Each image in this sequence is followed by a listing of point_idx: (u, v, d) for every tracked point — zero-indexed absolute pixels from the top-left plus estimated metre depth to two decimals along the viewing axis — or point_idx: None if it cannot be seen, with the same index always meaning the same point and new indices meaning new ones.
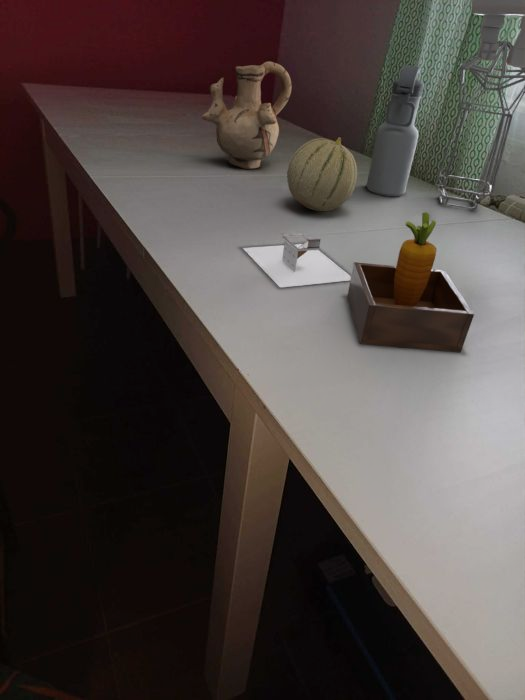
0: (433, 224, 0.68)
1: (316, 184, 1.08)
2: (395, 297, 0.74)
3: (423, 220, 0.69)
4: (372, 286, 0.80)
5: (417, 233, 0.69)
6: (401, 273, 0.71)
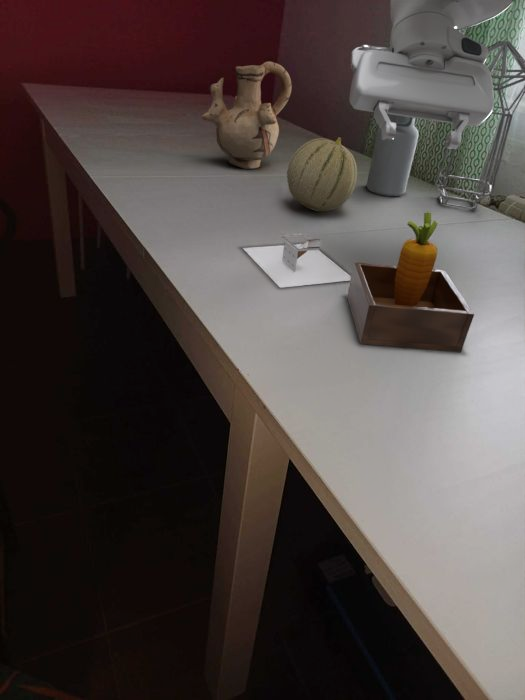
0: (435, 224, 0.69)
1: (316, 184, 1.08)
2: (395, 297, 0.74)
3: (425, 220, 0.70)
4: (372, 286, 0.80)
5: (419, 233, 0.69)
6: (402, 273, 0.71)
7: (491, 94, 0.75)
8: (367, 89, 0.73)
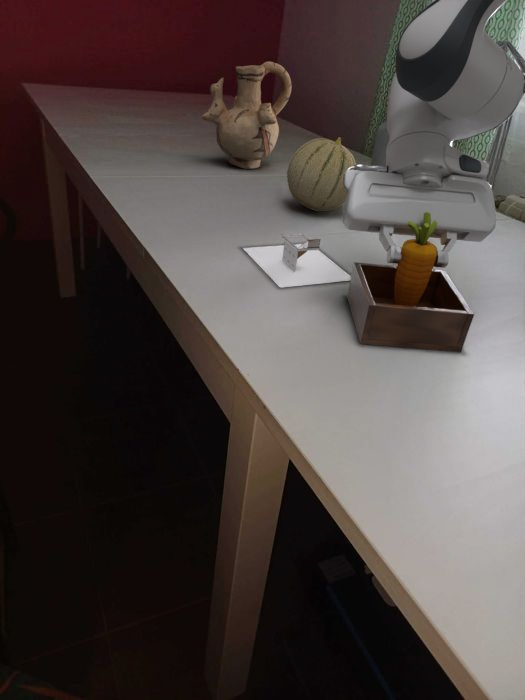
0: (434, 224, 0.69)
1: (316, 184, 1.08)
2: (395, 297, 0.74)
3: (424, 220, 0.70)
4: (372, 286, 0.80)
5: (419, 233, 0.69)
6: (401, 273, 0.71)
7: (492, 212, 0.71)
8: (358, 213, 0.70)
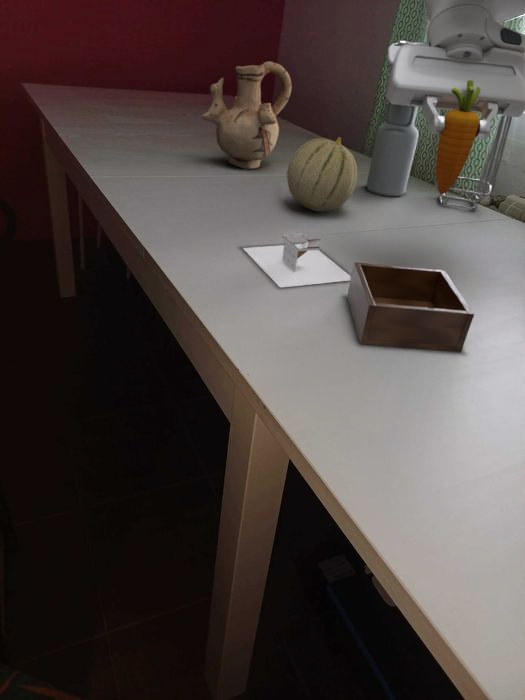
0: (478, 90, 0.71)
1: (316, 184, 1.08)
2: (437, 170, 0.77)
3: (468, 88, 0.72)
4: (372, 286, 0.80)
5: (462, 100, 0.72)
6: (444, 142, 0.74)
7: None
8: (403, 82, 0.73)
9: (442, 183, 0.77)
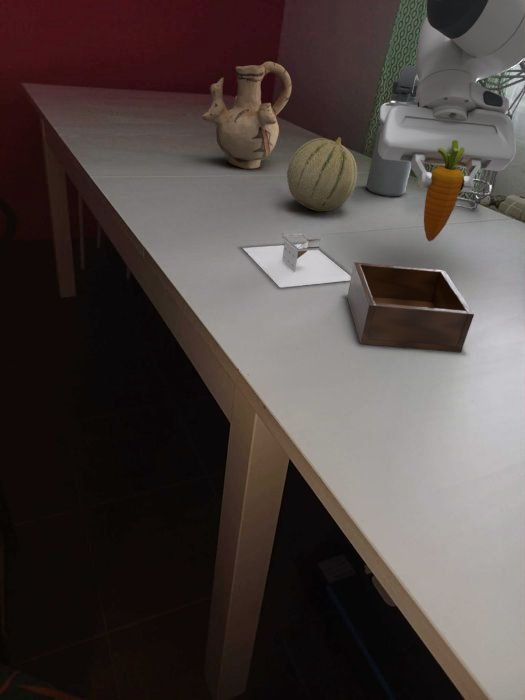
0: (462, 150, 0.77)
1: (316, 184, 1.08)
2: (425, 220, 0.83)
3: (453, 147, 0.78)
4: (372, 286, 0.80)
5: (447, 158, 0.78)
6: (431, 196, 0.80)
7: (513, 142, 0.80)
8: (393, 141, 0.79)
9: (430, 232, 0.83)
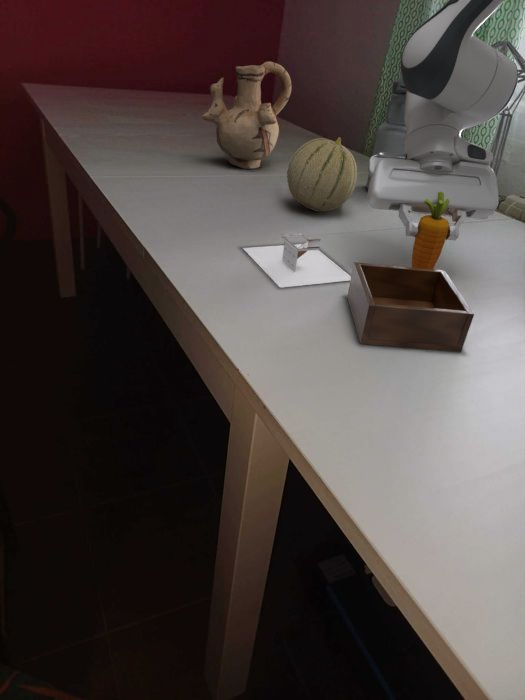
0: (447, 201, 0.81)
1: (316, 184, 1.08)
2: (413, 265, 0.87)
3: (439, 198, 0.82)
4: (372, 286, 0.80)
5: (434, 209, 0.82)
6: (419, 243, 0.84)
7: (495, 193, 0.84)
8: (382, 193, 0.83)
9: None
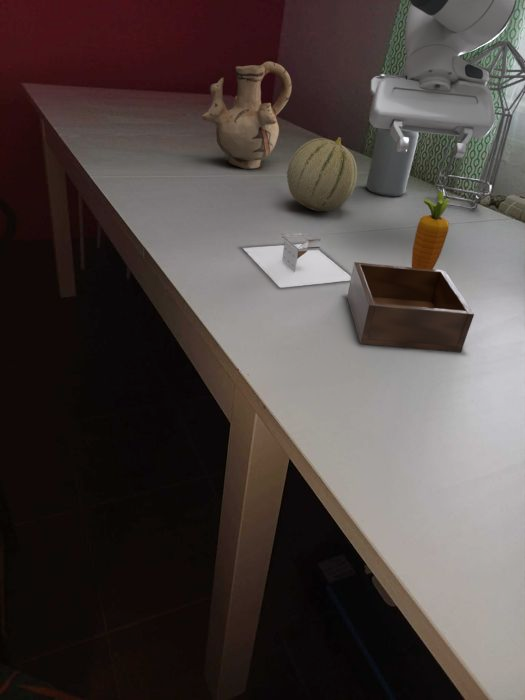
0: (447, 201, 0.81)
1: (316, 184, 1.08)
2: (413, 265, 0.87)
3: (438, 198, 0.82)
4: (372, 286, 0.80)
5: (433, 209, 0.82)
6: (419, 243, 0.84)
7: (492, 111, 0.88)
8: (383, 110, 0.86)
9: None
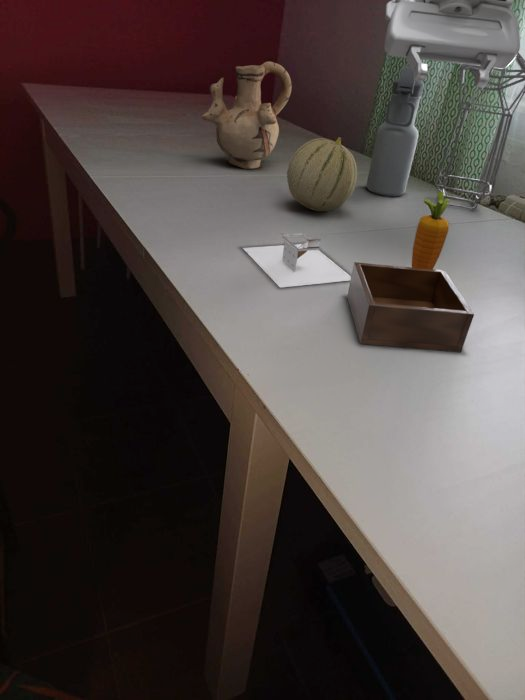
0: (447, 201, 0.81)
1: (316, 184, 1.08)
2: (413, 265, 0.87)
3: (438, 198, 0.82)
4: (372, 286, 0.80)
5: (433, 209, 0.82)
6: (419, 243, 0.84)
7: (517, 36, 0.81)
8: (400, 34, 0.80)
9: None
